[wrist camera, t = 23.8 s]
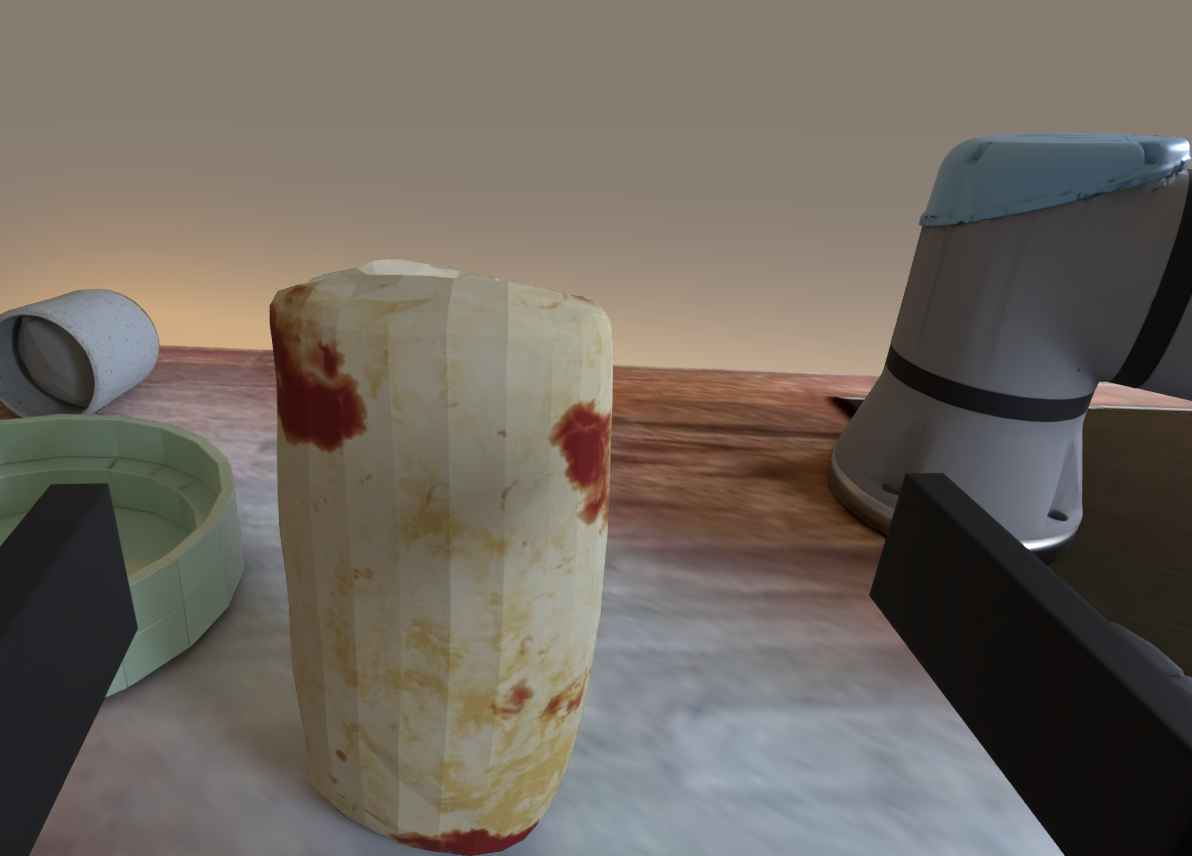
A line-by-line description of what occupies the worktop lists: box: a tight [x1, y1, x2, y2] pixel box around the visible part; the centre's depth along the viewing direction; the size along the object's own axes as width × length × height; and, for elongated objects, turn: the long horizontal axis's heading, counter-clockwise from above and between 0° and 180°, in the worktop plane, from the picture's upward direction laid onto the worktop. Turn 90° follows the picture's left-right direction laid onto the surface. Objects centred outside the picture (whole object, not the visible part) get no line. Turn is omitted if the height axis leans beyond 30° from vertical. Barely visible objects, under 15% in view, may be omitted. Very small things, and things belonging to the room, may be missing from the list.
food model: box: [270, 259, 613, 856], centre depth 25 cm, size 10×7×20 cm
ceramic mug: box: [0, 289, 159, 418], centre depth 53 cm, size 11×8×8 cm
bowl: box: [0, 414, 244, 697], centre depth 36 cm, size 18×18×5 cm
